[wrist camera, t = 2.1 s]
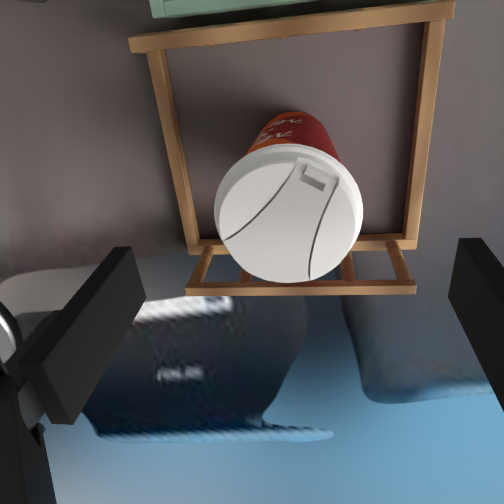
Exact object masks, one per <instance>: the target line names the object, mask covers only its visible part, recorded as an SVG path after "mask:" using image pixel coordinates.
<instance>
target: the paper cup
mask: <svg viewBox="0 0 504 504" xmlns="http://www.w3.org/2000/svg"><path fill="white" fill-rule="evenodd" d="M214 218H215V223H216V228H217V230H218V233H219V236H220V238H221V240H222V241H223V243H224V245H225V246H226V248H227V249H228V251H229V252H230V254H231V255H232V257H233V258H234V259H235V261H237V263H239V265H240V266H241V267H242V268H243V269H244V270H246V271H247V272H248V273H250V274H252V275H254V276H257V277H259V278H262V279H265V280H269V281H274V282H280V283H294V282H303V281H309V280H314V279H316V278H318V277H321V276H323V275H324V274H326V273H327V272H329V271H331V270H332V269H333V268H335V267H336V266H337V265H338V264H339V263H340V262H341V261H342V260H343V258H344V257H345V256H346V255H347V253H348V251H349V250H350V249H351V248H352V246H353V244H354V243H355V241H356V239H357V237H358V235H359V232H360V229H361V225H362V220H363V205H362V198H361V195H360V192H359V189H358V186H357V184H356V182H355V181H354V179H353V177H352V175H351V174H350V173H349V172H348V170H347V169H346V168H345V167H344V166H343V165H342V164H341V163H340V160H339V158H338V156H337V153H336V151H335V149H334V146H333V144H332V142H331V140H330V137H329V135H328V133H327V132H326V130H325V128H324V127H323V125H322V124H321V123H320V122H319V121H318V120H317V119H316V118H314V117H313V116H311V115H309V114H306V113H303V112H297V111H293V112H286V113H283V114H280V115H278V116H276V117H275V118H273V119H272V120H271V121H270V122H269V123H268V124H267V125H266V126H265V127H264V128H263V130H262V131H261V132H260V134H259V135H258V137H257V138H256V140H255V141H254V143H253V144H252V146H251V147H250V149H249V150H248V152H247V154H246V155H245V156H244V157H243V158H241V159H240V160H239V161H238V162H237V163H236V164H234V165H233V166H232V167H231V168H230V170H229V171H228V172H227V174H226V175H225V176H224V178H223V180H222V182H221V183H220V185H219V188H218V191H217V194H216V198H215V204H214Z"/></svg>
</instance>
